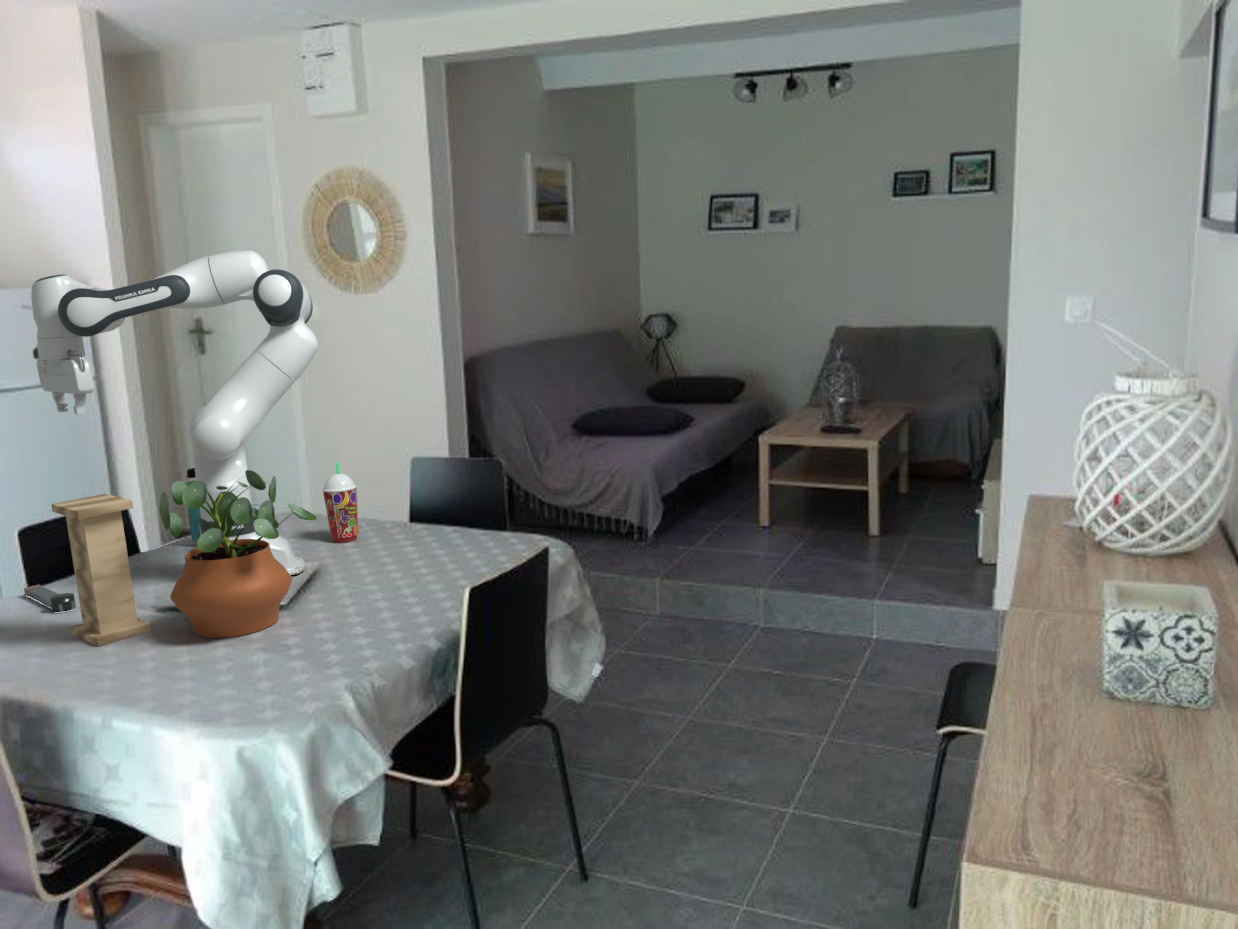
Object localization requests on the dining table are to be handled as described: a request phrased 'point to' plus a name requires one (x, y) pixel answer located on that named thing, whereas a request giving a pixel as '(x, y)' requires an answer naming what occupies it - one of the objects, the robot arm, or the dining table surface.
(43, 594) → the grey rod with knob
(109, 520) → the stand
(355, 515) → the smoothie
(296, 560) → the robot arm
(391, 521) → the dining table surface
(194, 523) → the beverage bottle
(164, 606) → the dining table surface
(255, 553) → the potted plant
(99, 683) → the dining table surface
